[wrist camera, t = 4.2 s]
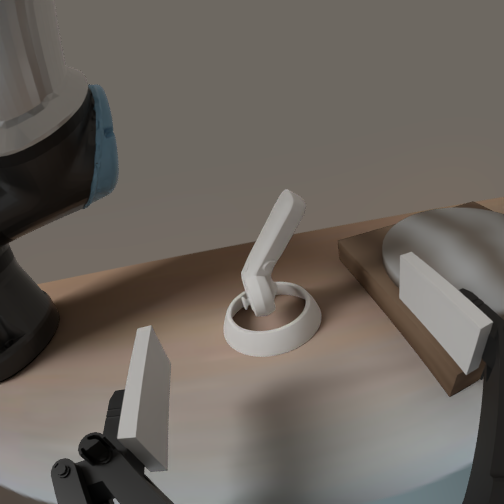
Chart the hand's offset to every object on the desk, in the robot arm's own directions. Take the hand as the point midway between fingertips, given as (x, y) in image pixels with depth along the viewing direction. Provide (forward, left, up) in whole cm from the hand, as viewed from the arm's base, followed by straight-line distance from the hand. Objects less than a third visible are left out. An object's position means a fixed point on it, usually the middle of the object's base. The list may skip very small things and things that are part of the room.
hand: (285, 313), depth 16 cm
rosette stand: (+17, +4, -6) cm, 18 cm away
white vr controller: (0, +7, -6) cm, 9 cm away
